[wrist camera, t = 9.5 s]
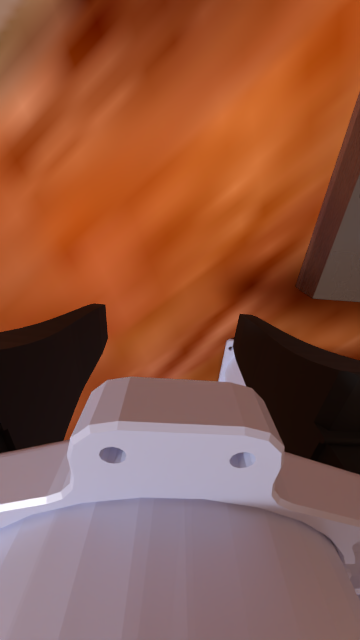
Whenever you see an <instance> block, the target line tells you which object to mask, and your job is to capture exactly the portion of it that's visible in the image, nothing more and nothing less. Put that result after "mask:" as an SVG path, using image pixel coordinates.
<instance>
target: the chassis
mask: <svg viewBox="0 0 360 640" xmlns="http://www.w3.org/2000/svg"><path fill="white" fill-rule="evenodd" d="M295 287H296V288H298V289H299V290H301V291H302V292H304V293H305V294H307V295H308V296H310V297H311V298H313V299H327V300H340V301H353V302H360V93H359V96H358V99H357V102H356V105H355V108H354V111H353V114H352V117H351V120H350V123H349V126H348V129H347V132H346V135H345V138H344V141H343V144H342V147H341V150H340V153H339V156H338V159H337V162H336V165H335V168H334V171H333V174H332V177H331V180H330V183H329V186H328V190H327V193H326V196H325V199H324V202H323V205H322V208H321V211H320V214H319V217H318V220H317V223H316V226H315V229H314V232H313V235H312V238H311V241H310V244H309V247H308V250H307V253H306V256H305V259H304V262H303V265H302V268H301V271H300V274H299V277H298V280H297V283H296V286H295Z"/></svg>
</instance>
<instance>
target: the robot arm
mask: <svg viewBox="0 0 360 640" xmlns="http://www.w3.org/2000/svg"><path fill="white" fill-rule="evenodd" d="M107 339H108V334H107V321H106V308H105V305H104V304H90V305H87V306H84V307H82V308H79V309H76V310H74V311H71V312H69V313H67V314H64V315H61V316H58V317H56V318H53V319H50V320H47V321H44V322H41V323H38V324H35V325H31V326H27V327H23V328H19V329H14V330H9V331H4V332H0V640H360V361H359V360H355V359H352V358H348V357H345V356H341V355H338V354H335V353H332V352H329V351H326V350H323V349H321V348H318V347H315V346H313V345H311V344H308V343H306V342H303V341H301V340H299V339H297V338H295V337H293V336H291V335H289V334H287V333H285V332H283V331H281V330H279V329H277V328H276V327H274V326H272V325H270V324H269V323H267V322H265V321H263V320H261V319H260V318H258V317H256V316H253V315H247V314H240V315H239V320H238V324H237V329H236V333H235V337H234V339H229V340H228V341H227V342H226V347H225V352H224V356H223V361H222V366H221V371H220V375H219V380H218V382H217V381H199V380H180V379H162V378H144V377H126V378H119V379H112V380H107V381H106V382H104V383H103V384H102V385H100V386H99V387H98V388H96V389H95V390H94V391H92V392H91V395H90V397H89V399H88V401H87V403H86V405H85V407H84V410H83V412H82V414H81V416H80V418H79V420H78V422H77V425H76V427H75V429H74V431H73V433H72V435H71V437H70V440H65V441H63V440H64V437H65V434H66V431H67V429H68V426H69V423H70V421H71V418H72V415H73V412H74V410H75V407H76V405H77V402H78V400H79V397H80V395H81V393H82V390H83V388H84V386H85V384H86V383H87V381H88V379H89V377H90V375H91V373H92V372H93V370H94V368H95V366H96V364H97V362H98V361H99V359H100V357H101V355H102V353H103V350H104V348H105V345H106V342H107ZM229 347H232V348H231V349H229Z"/></svg>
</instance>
